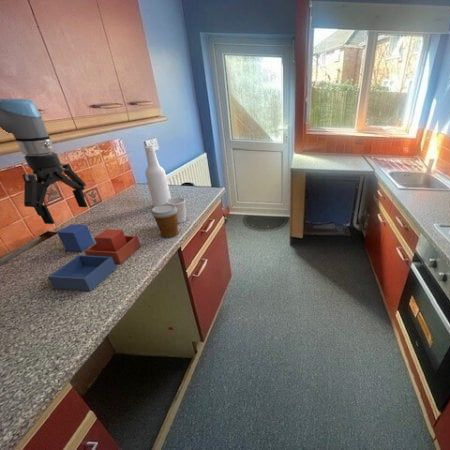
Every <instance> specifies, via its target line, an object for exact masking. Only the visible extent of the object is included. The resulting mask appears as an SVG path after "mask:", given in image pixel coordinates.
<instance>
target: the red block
mask: <svg viewBox="0 0 450 450" xmlns="http://www.w3.org/2000/svg"><path fill="white" fill-rule="evenodd" d="M125 236H126V235H125V233H124V229H113V228H112V229H111V228H107V229H104V230H103V231H102V232H100V233H99V234H97V235H95V236H94V237H93V240H94V241H95V244H97V246H98V249H99V251H110V252H117V251H118V250H119V249H120V248H122V247H123V246H124V245H125V244H127V241H126V238H125Z"/></svg>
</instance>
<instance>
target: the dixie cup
mask: <svg viewBox="0 0 450 450" xmlns="http://www.w3.org/2000/svg"><path fill="white" fill-rule="evenodd" d="M186 201H187V199H186V198H185V197H181V196H175V197H171V198H170V199H168V200H166V201H165V203H166V204H173V205H175V206H176V208H177V209H178V210H177V223H178V224H180V223H181V224H182V223H184V222H186V221H187V211H186V209H187V208H186Z"/></svg>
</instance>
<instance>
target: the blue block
mask: <svg viewBox="0 0 450 450" xmlns="http://www.w3.org/2000/svg"><path fill="white" fill-rule="evenodd" d="M56 233H57V235H58V237H59V239H60V241H61V243H62V246H63V248H64V250H65V252H81V253H82V252H84V251H85V250H87V249H88V248H90V247H91V246H93V245H94V244H95V242H94V238H93V237H92V235H91V232H90V230H89V227H88V225H87V224H73V223H72V224H69V225H68V226H66V227H64V228H61V229H60V230H58V231H57V232H56Z"/></svg>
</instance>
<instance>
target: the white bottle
mask: <svg viewBox="0 0 450 450" xmlns="http://www.w3.org/2000/svg"><path fill="white" fill-rule="evenodd" d="M144 151H145V155H146V161H147V167H146V169H145V170H144V172H145V173H144V175H145V179H146V182H147V187H148V190H149V194H150V198H151V201H152V206H153V208H154V207H155V206H158V205H162V204H166V203H165V201H166V200H168V199H170V198H172V196H171V191H170V188H169V187H170V186H169V183H168V178H167V173H166V171H165V169H164V168H163V167H162V166H161V165H160V163H159V160H158V156H157V154H156V150H155V146H152V145H146V146H144Z"/></svg>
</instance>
